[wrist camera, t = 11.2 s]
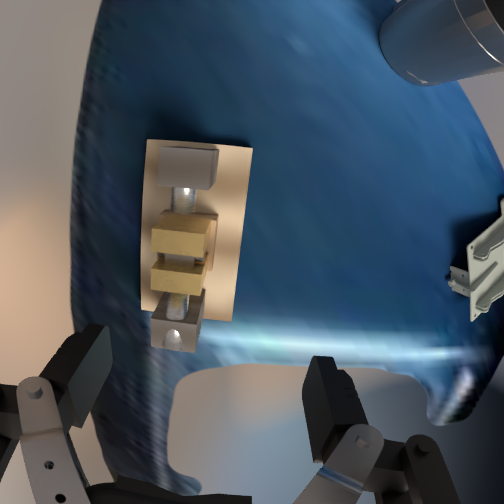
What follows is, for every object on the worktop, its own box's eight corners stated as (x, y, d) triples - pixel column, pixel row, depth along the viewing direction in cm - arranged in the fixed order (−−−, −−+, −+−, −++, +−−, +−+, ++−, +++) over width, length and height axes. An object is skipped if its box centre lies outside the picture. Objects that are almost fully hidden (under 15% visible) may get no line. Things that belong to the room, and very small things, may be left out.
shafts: (178, 147, 24) (168, 147, 21) (203, 149, 24) (195, 149, 21) (168, 332, 30) (160, 354, 26) (188, 335, 30) (182, 358, 26)
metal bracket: (476, 342, 32) (473, 236, 27) (447, 326, 37) (436, 227, 33) (525, 287, 34) (523, 192, 30) (498, 277, 40) (491, 188, 35)
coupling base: (151, 139, 29) (120, 138, 21) (252, 148, 30) (254, 148, 22) (145, 303, 35) (121, 345, 27) (231, 314, 35) (228, 361, 27)
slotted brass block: (207, 271, 29) (199, 295, 25) (164, 266, 29) (150, 289, 24) (211, 218, 28) (204, 234, 23) (167, 214, 28) (151, 228, 23)
